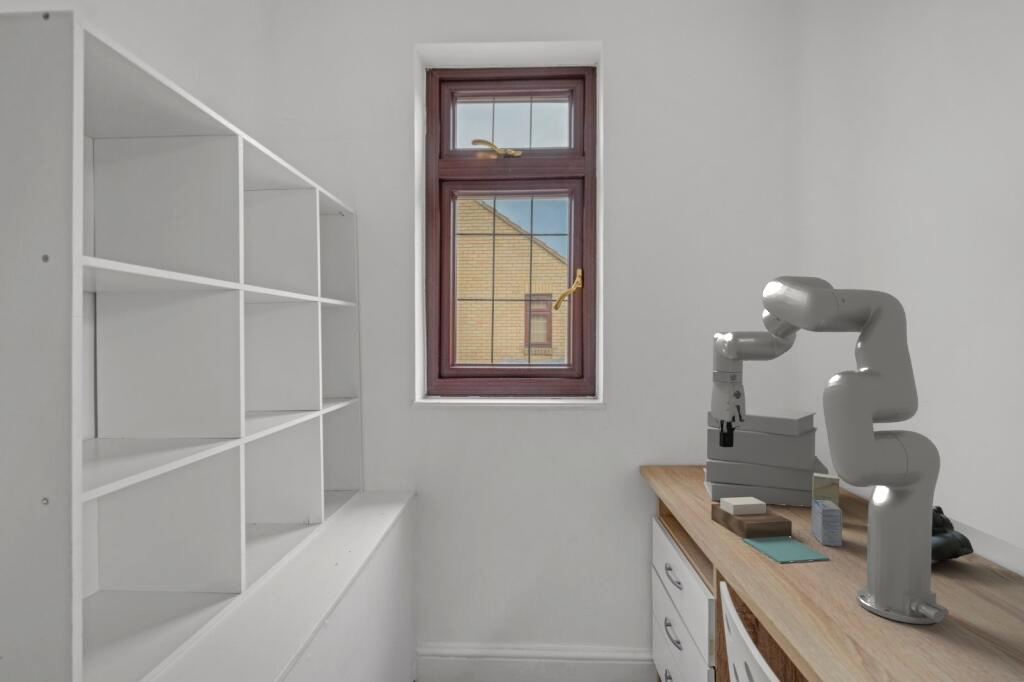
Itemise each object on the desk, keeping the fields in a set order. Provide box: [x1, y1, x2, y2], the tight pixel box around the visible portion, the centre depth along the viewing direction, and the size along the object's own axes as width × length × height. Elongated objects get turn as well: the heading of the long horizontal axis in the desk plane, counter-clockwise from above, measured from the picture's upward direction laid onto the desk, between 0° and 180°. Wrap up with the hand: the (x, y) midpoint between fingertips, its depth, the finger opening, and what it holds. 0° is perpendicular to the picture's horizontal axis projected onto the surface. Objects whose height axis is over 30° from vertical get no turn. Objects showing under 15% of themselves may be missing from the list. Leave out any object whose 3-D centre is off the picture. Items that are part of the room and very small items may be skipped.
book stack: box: [702, 406, 829, 506], centre depth 178 cm, size 30×35×26 cm
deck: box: [710, 503, 793, 539], centre depth 147 cm, size 16×12×4 cm
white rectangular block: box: [719, 497, 767, 515], centre depth 148 cm, size 6×9×2 cm, turn 100°
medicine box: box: [811, 500, 843, 547], centre depth 138 cm, size 8×4×9 cm, turn 168°
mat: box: [741, 536, 830, 564], centre depth 132 cm, size 14×12×1 cm
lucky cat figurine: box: [931, 504, 974, 565], centre depth 127 cm, size 15×12×14 cm
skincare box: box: [811, 473, 840, 521], centre depth 153 cm, size 6×4×12 cm
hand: (726, 446), depth 156 cm, fingers closed
